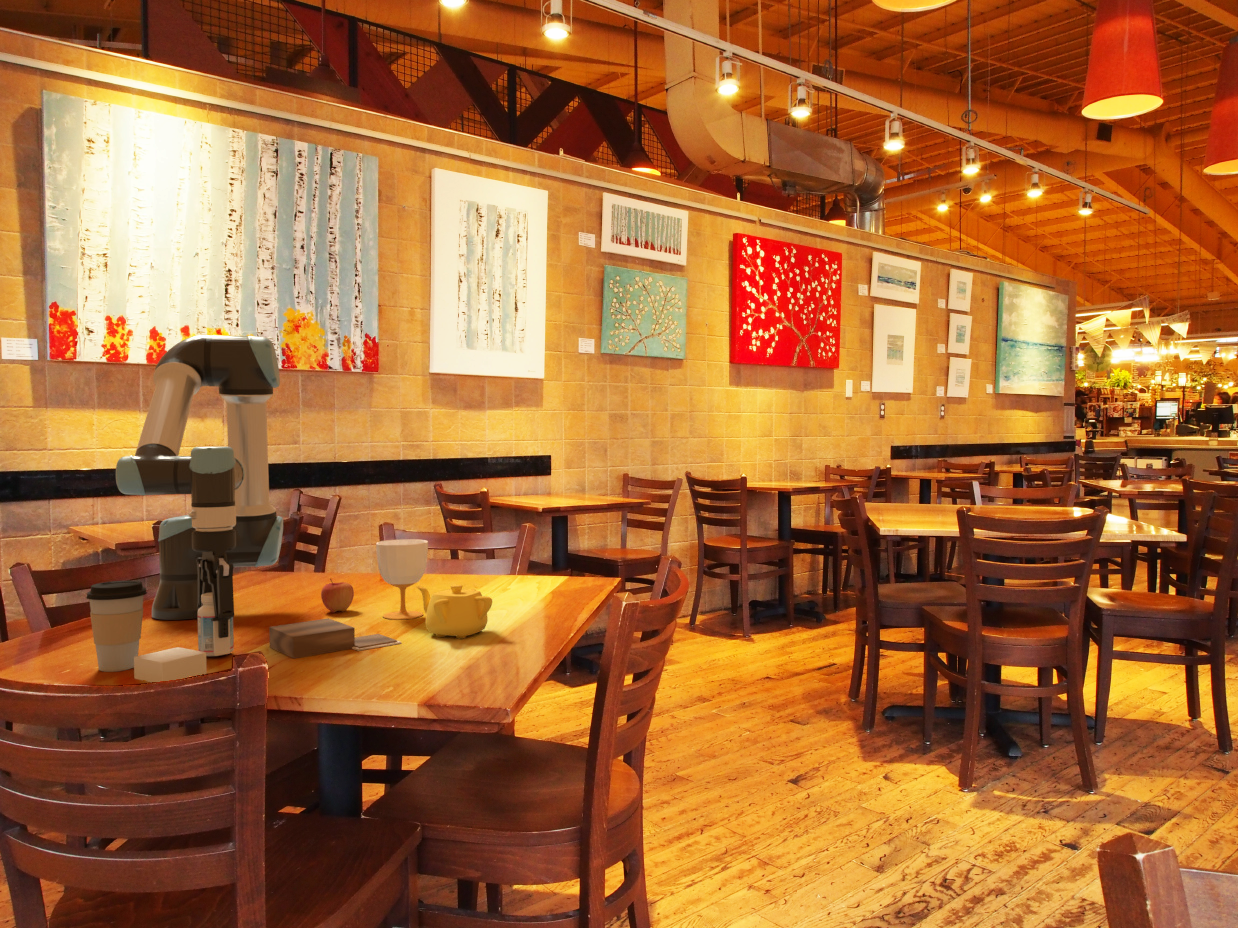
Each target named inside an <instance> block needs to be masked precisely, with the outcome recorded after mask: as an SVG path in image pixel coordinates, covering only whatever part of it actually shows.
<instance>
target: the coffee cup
mask: <svg viewBox="0 0 1238 928" xmlns="http://www.w3.org/2000/svg"><path fill="white" fill-rule="evenodd" d="M147 594H148V592H147V588H146V587H144V586H143V582H142V581H140V580H115V581H114V580H113V581H106V582H105V581H104V582H99V583H95V584H92V585H90V591H88V592H87V593H86V597H85V598H86V599H87V600H89V608H90V612H89V615H90V622H91V630H92V637H93V643H94V645H95V650H96V658H97V664H98V671H101V672H106V673H107V672H108V673H111V672H112V673H114V672H122V671H123V672H124V671H127V670H131V669H134V657H136V656H139V648H140V640H141V637H142V627H143V617H144V616H143V615H144V608H143V607H144V596H145V595H147Z"/></svg>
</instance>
